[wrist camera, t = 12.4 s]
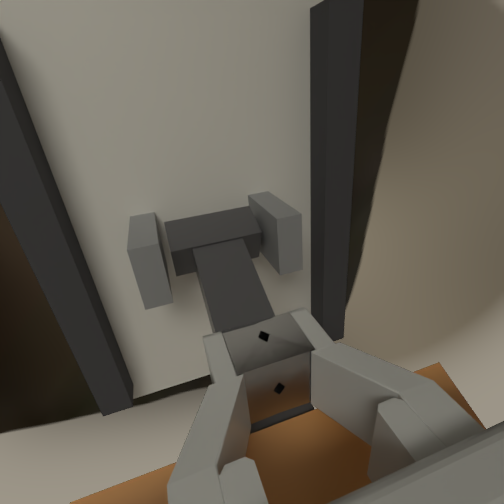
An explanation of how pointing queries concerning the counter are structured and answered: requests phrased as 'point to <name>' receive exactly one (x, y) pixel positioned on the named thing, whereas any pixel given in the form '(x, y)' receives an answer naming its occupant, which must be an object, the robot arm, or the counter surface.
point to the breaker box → (170, 150)
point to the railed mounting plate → (67, 245)
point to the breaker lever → (279, 425)
